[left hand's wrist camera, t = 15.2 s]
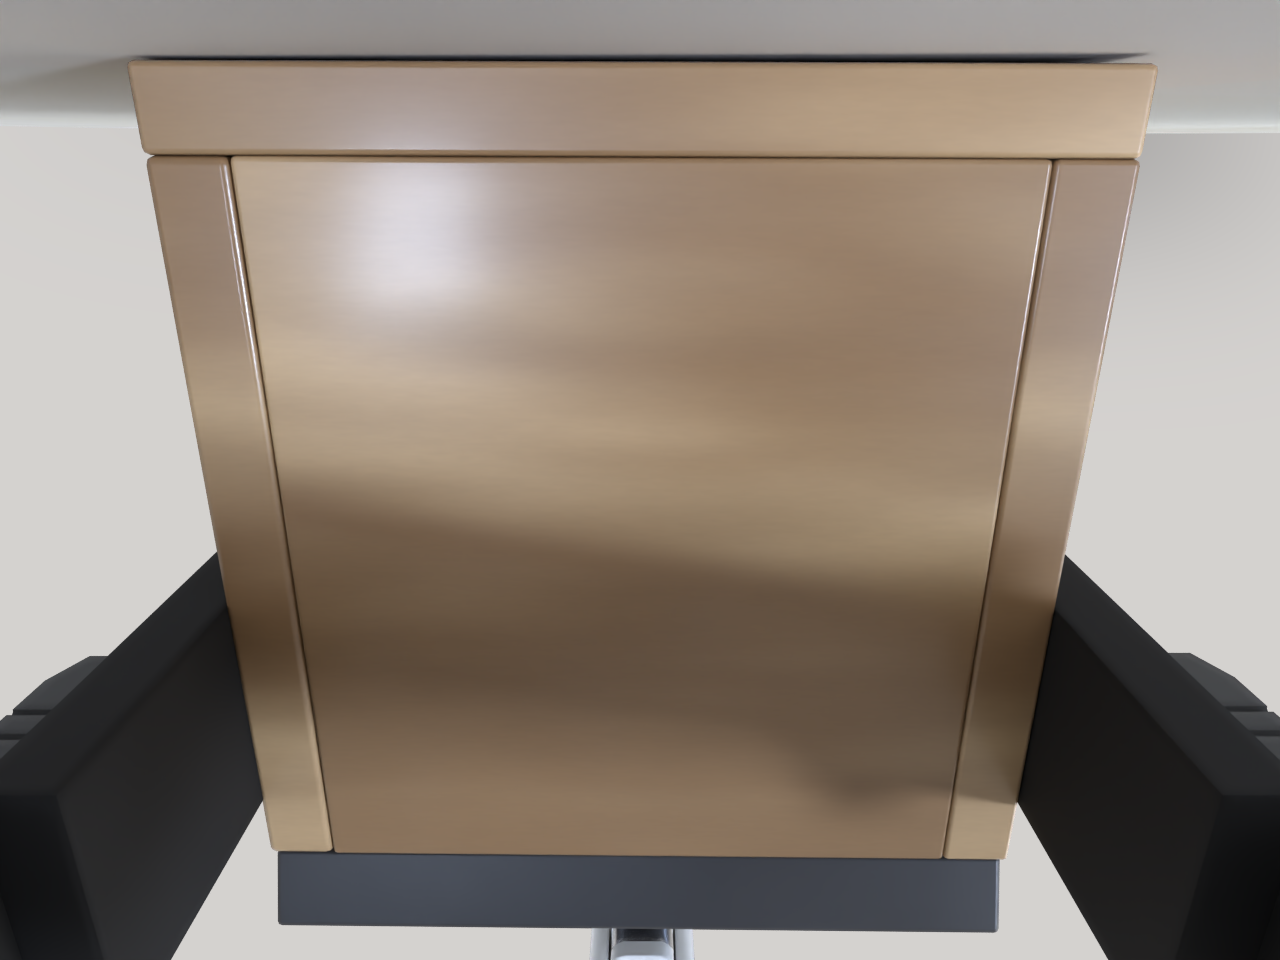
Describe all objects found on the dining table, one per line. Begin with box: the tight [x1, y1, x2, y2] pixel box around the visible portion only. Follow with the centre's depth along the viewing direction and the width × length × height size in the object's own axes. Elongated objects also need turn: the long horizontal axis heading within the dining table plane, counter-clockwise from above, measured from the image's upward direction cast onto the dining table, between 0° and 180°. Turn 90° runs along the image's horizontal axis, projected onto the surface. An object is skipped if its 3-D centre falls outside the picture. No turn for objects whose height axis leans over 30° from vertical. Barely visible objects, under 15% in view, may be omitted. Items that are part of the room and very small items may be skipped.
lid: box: [278, 847, 999, 933], centre depth 20 cm, size 17×9×9 cm, turn 0°
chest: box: [127, 60, 1158, 859], centre depth 17 cm, size 16×9×9 cm, turn 1°
